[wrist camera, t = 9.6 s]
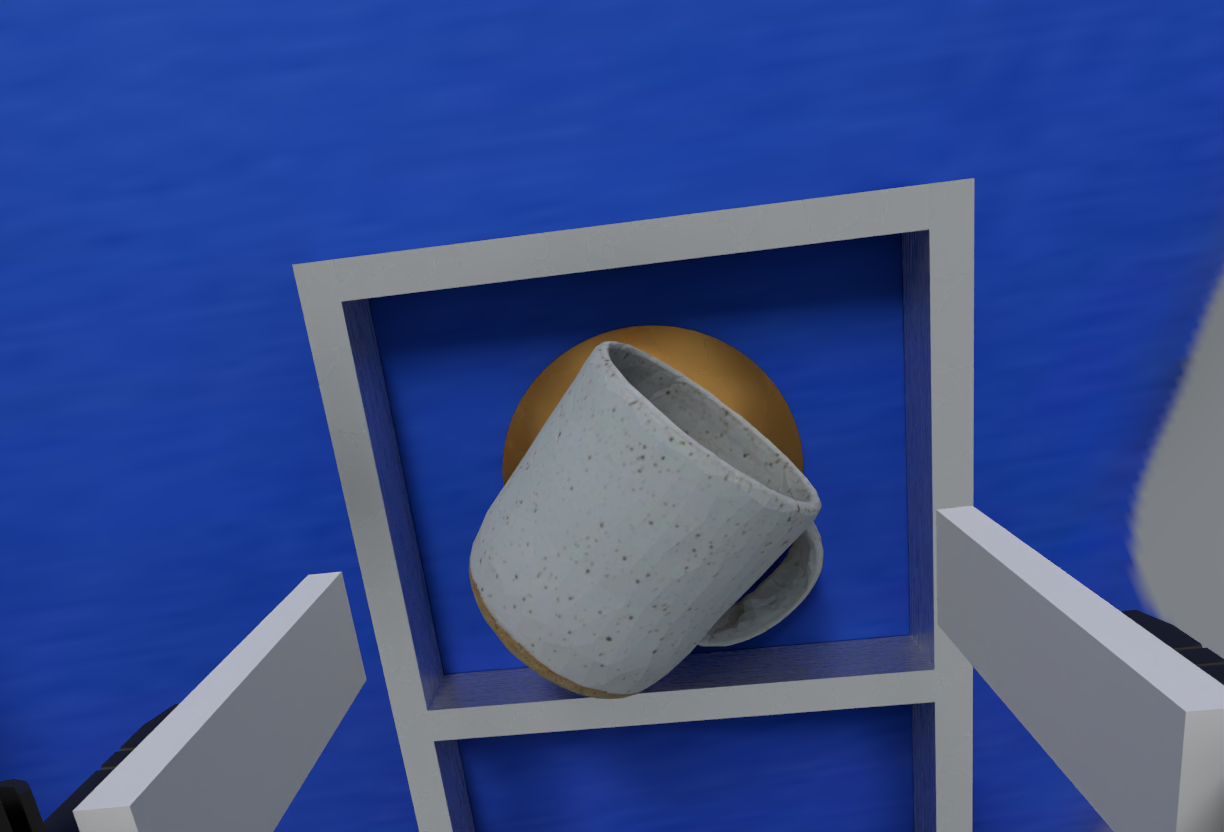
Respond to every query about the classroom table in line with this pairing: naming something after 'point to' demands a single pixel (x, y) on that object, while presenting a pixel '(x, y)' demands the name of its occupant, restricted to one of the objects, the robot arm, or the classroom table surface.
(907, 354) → the slot rack
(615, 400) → the ceramic mug
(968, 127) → the classroom table surface
